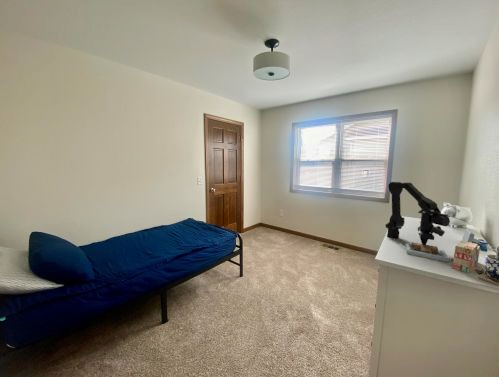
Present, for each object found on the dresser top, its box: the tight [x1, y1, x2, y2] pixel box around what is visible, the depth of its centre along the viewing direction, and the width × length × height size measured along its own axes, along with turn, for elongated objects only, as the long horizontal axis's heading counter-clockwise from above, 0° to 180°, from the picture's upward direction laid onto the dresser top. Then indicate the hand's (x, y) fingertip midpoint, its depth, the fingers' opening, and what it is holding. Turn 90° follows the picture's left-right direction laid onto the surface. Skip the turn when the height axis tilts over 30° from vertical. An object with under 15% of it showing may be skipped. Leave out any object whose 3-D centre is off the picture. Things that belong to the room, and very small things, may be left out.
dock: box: [405, 242, 450, 263], centre depth 123 cm, size 18×14×2 cm
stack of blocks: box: [451, 240, 481, 274], centre depth 109 cm, size 21×6×12 cm, turn 125°
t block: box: [410, 241, 439, 255], centre depth 125 cm, size 12×12×3 cm
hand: (423, 246), depth 131 cm, fingers closed
